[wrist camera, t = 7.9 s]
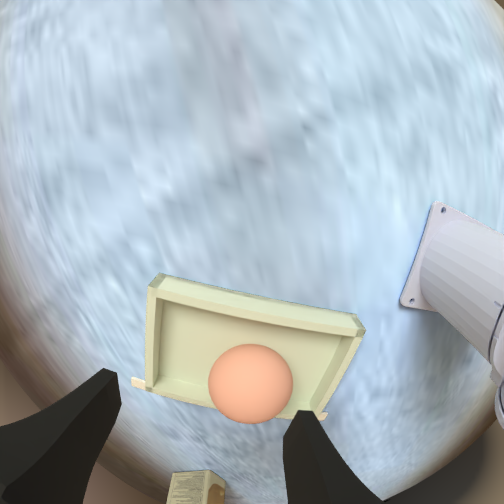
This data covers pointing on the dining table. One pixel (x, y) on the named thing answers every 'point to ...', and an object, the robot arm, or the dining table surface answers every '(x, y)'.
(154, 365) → the tray
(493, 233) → the robot arm
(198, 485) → the skincare box
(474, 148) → the dining table surface
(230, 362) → the ball
